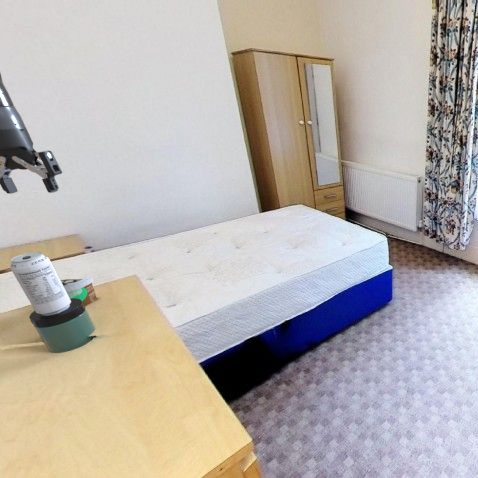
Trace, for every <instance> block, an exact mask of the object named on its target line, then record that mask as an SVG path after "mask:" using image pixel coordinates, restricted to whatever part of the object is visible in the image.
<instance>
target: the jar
mask: <svg viewBox="0 0 478 478" xmlns="http://www.w3.org/2000/svg"><path fill="white" fill-rule="evenodd" d="M33 327H34V330H36V332H37V334H38V335H39V337H40V339H41V341H42V342H43V344H44V345H45V347H46V349H47V350H48V351H49V352H50V353H54V354H59V353H60V354H61V353H65V352H70V351H73V350H75V349H77V348H81V347H83V346H84V345H87V344H88V343H90V342H91V341H93V339H95V338H96V336H97V335H92V334H93V333H94V332H95V330H96V326H95V324H94V322H93V320H92V317H91V316H90V314H89V311H88V310H87V307H85V310H84V311H83V312H82V313H81V314H80V315H78V316H77V317H75V318H73V319H71V320H68V321H66V322H63V323H60V324H57V325H53V326H47V327H37V326H34V325H33Z"/></svg>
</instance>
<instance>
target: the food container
mask: <svg viewBox="0 0 478 478" xmlns="http://www.w3.org/2000/svg"><path fill="white" fill-rule="evenodd" d="M60 281H61V283H62V285H63V286H64V288H65V290H66V292H67V294H68V296H69V298H70V299H71V298H77V299H80V300H82V302H83V303H84V305H85V307H86V306H89V305H91V304H92V303H94V302H96V301H97V300H98V297H97V295H96V291H95V288H94V285H93V283H94V282H95V280H94V279H93V278H92V276H90V275H87V276H86V277H84V278H79V279H75V278H74V279H70V278H68V279H60Z"/></svg>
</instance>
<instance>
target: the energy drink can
mask: <svg viewBox="0 0 478 478" xmlns="http://www.w3.org/2000/svg"><path fill="white" fill-rule="evenodd" d="M10 262H11V263H10V267H9V268H10V270H11V271H12V274H13V275H14V277H15V279H16V281H17V282H18V284H19V286H20V288H21V289H22V291H23V293H24V294H25V296H26V298H27V299H28V301H29V303H30V304H31V306H32V308H33V310H34V311H36V313H38V314H41V315H44V316H48V315H53V314H57V313H60V312H62V311H64V310H66V309H67V308H68V307H69V306H70V305H69V304H70V303H71V300H70V298H69V296H68V294H67V292H66V290H65V288H64V286H63V285H62V283H61V281H60V280H61V279H60V277H59V275H58V273H57V271H56V269H55V268H54V266H53V263H52V262H51V259H50V258H49V257H48V256H46V255H44V254H43V253H42V251H41V252H40V251H32V252H26V253H21V254H20V255H16V256H14V257H12V258H11V259H10Z"/></svg>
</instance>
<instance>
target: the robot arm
mask: <svg viewBox="0 0 478 478" xmlns="http://www.w3.org/2000/svg"><path fill="white" fill-rule="evenodd" d="M15 170H23V171H26V170H28V171H30V172H31V173H34V174H36V175H38V176H39V177H41V178H42V179H41V181H42V183H43V185H44V187H45V189H46V191H47V193H49V194H53V193H56V192H58V191H59V184H58V183H57V181H56V176H58V175H62V174H63V171H62V168H61V167H60V165H59V163H58V161H57V159H56V157H55V155H54V153H53V151H51V150H43V151H37V150H36V149H35V148H34V141H33V140H32V138H31V135H30V133H29V132H28V128H27V127H26V124H25V123H24V120H23V118H22V115H21V114H20V112H19V110H17V108H16V106H15V105H14V102H13V100H12V97H11V96H10V93H9V92H8V89H7V88H6V86H5V83H4V81H3V77H2V74H1V72H0V187H1V189H2V190H3V191H4V192H5V193H6V194H8V195H9V194H10V195H11V194H15V193H17V192H18V188H17V186H16V184H15V182H14V181H13V178H12V177H10V175H11V174H12V171H15Z"/></svg>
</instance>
